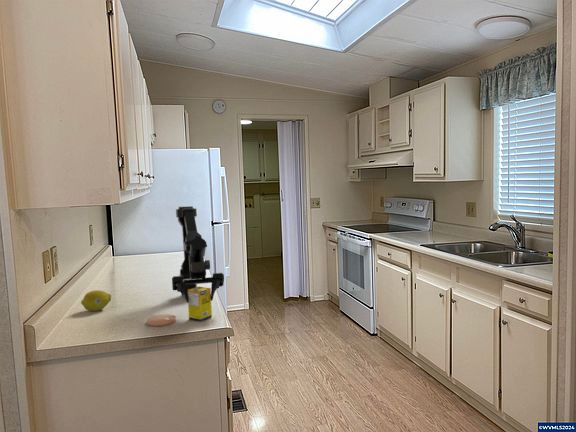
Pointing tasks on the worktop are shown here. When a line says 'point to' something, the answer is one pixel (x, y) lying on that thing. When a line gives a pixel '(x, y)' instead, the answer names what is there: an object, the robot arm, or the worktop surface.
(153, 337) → the worktop surface
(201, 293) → the supplement box
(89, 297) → the lemon
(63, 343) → the worktop surface
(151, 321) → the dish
